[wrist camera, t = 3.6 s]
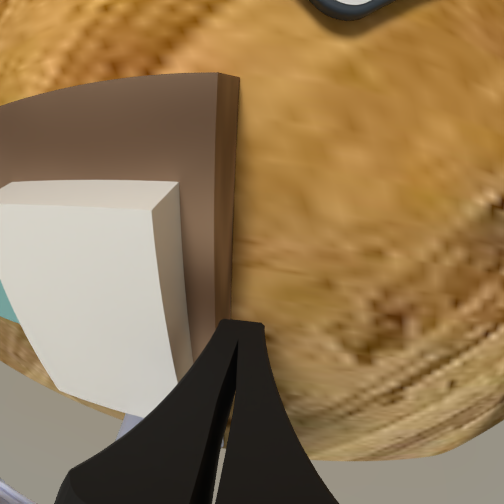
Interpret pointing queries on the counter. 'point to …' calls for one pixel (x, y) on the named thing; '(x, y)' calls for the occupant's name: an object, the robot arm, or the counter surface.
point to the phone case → (349, 8)
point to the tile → (99, 286)
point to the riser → (144, 161)
